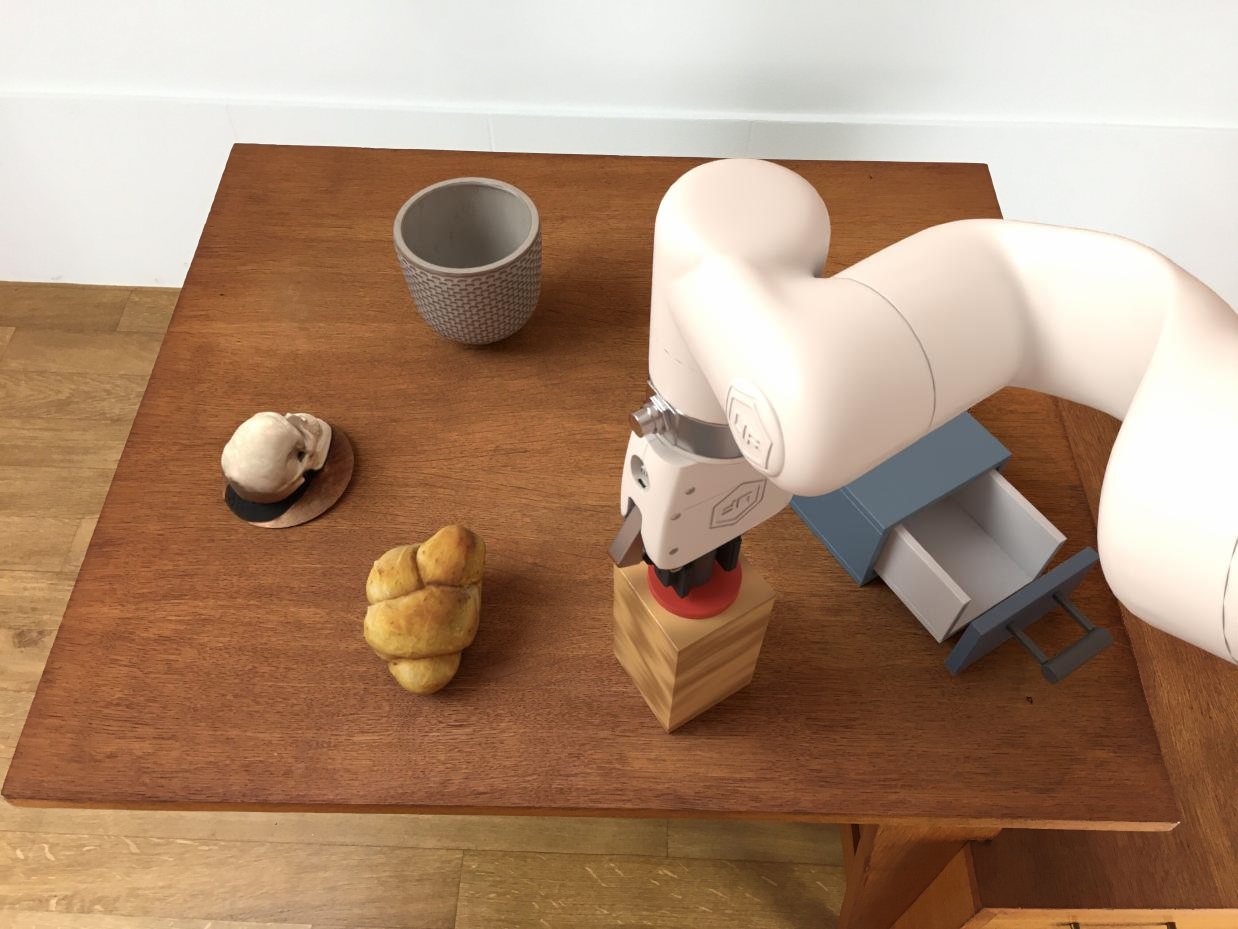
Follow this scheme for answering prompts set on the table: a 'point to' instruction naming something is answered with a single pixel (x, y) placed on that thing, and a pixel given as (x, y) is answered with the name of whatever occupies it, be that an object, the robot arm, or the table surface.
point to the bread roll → (426, 607)
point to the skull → (284, 469)
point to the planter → (471, 257)
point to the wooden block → (688, 645)
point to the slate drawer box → (899, 492)
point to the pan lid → (700, 589)
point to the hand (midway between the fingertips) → (695, 566)
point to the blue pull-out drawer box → (988, 575)
